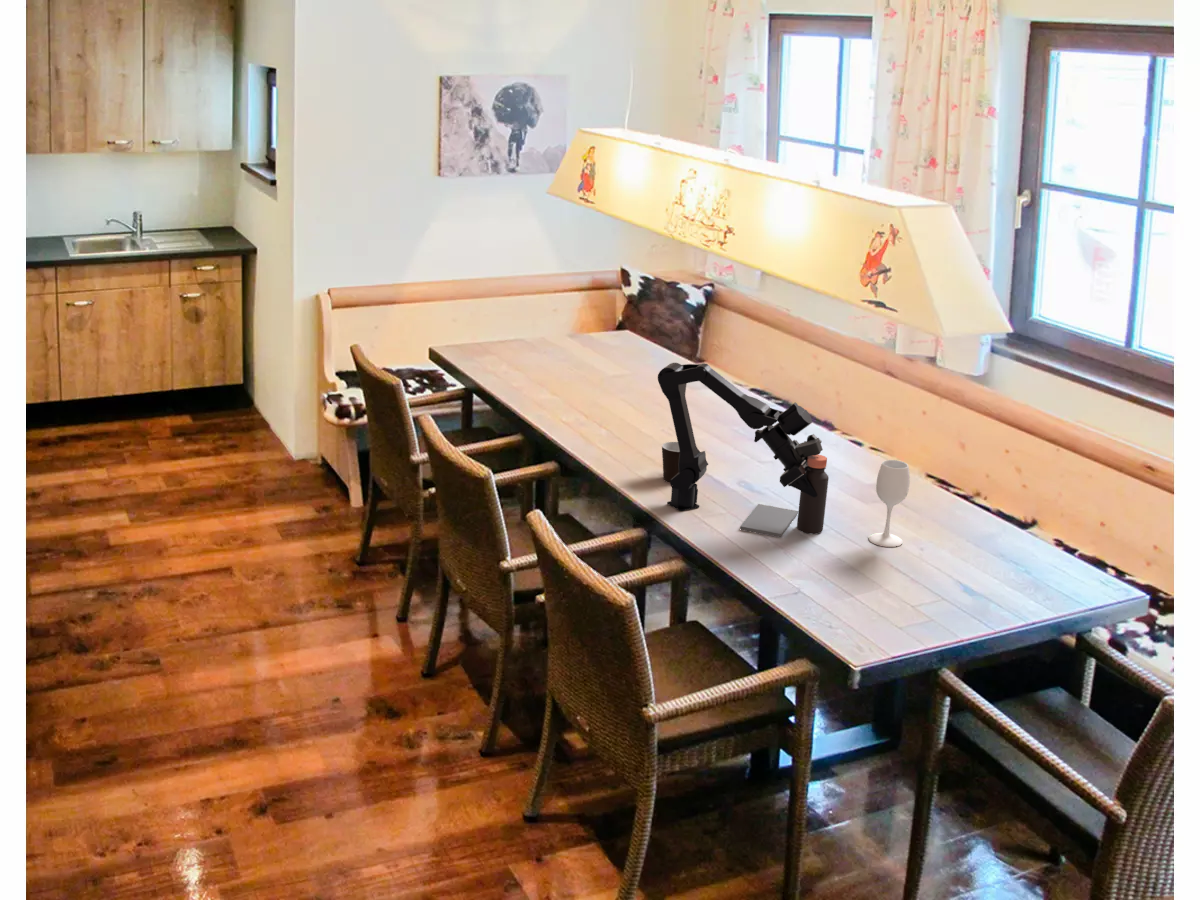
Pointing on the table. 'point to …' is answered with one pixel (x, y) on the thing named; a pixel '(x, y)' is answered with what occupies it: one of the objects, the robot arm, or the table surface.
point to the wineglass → (891, 496)
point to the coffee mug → (670, 460)
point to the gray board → (769, 520)
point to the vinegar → (809, 506)
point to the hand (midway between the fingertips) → (819, 492)
